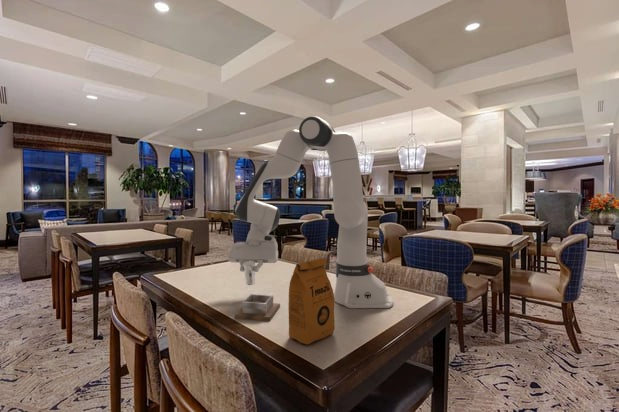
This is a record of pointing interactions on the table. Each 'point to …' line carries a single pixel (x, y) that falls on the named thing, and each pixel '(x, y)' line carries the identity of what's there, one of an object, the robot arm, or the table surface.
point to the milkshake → (249, 272)
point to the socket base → (258, 308)
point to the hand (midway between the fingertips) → (248, 271)
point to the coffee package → (310, 302)
